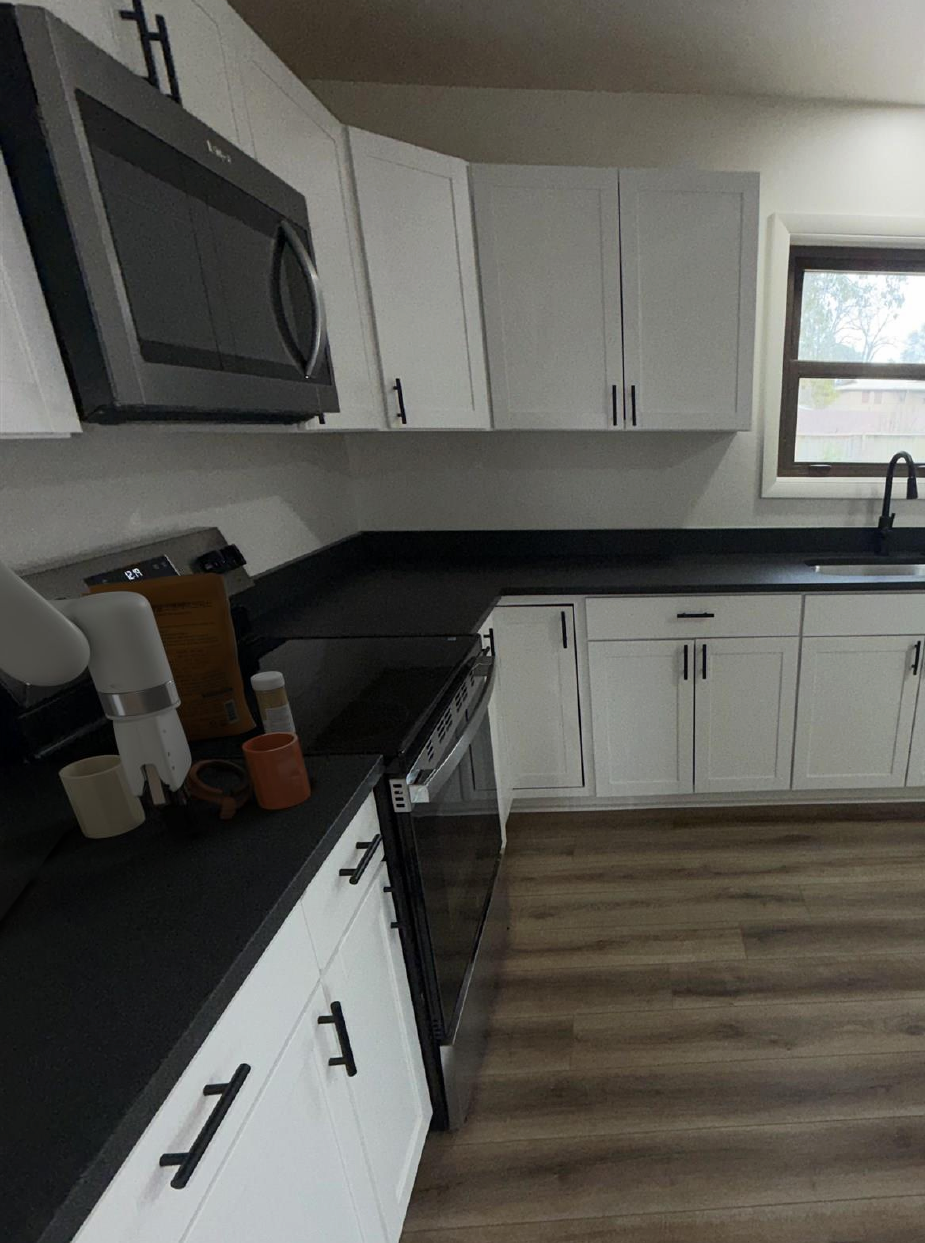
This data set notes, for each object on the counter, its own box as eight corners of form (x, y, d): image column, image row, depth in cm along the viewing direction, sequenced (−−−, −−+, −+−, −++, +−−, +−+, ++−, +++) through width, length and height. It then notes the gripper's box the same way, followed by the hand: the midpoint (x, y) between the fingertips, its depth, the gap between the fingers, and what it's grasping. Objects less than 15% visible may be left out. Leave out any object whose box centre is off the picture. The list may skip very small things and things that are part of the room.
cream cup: (75, 842, 96) (50, 782, 92) (92, 817, 102) (69, 759, 98) (138, 832, 98) (116, 772, 94) (151, 808, 104) (131, 751, 100)
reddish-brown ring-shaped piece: (220, 791, 110) (234, 749, 106) (253, 833, 107) (269, 791, 104) (128, 807, 99) (142, 760, 96) (163, 853, 96) (178, 807, 93)
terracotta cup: (254, 813, 103) (238, 755, 99) (261, 791, 109) (245, 736, 105) (309, 804, 105) (295, 747, 101) (312, 783, 111) (299, 729, 107)
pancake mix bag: (262, 735, 128) (219, 574, 116) (133, 753, 121) (74, 584, 109) (266, 721, 133) (225, 567, 122) (143, 738, 127) (87, 576, 115)
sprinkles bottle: (271, 748, 123) (251, 672, 117) (301, 743, 124) (282, 668, 119) (269, 759, 119) (248, 681, 113) (300, 754, 121) (281, 677, 115)
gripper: (120, 682, 92) (164, 809, 100) (82, 724, 80) (135, 865, 87) (189, 675, 95) (226, 798, 103) (162, 714, 82) (207, 852, 90)
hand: (184, 829), depth 95 cm, fingers closed
